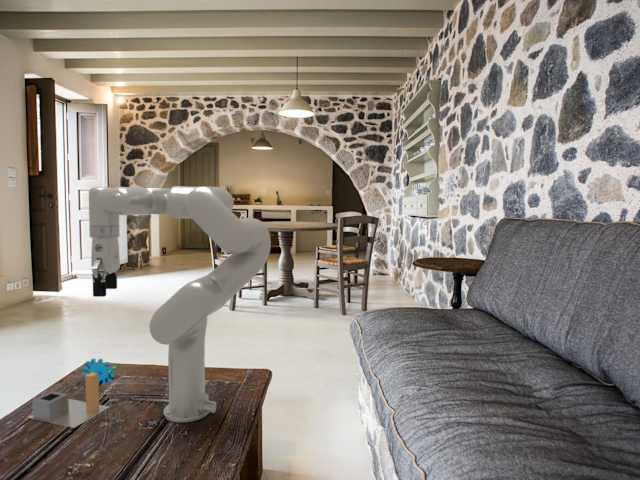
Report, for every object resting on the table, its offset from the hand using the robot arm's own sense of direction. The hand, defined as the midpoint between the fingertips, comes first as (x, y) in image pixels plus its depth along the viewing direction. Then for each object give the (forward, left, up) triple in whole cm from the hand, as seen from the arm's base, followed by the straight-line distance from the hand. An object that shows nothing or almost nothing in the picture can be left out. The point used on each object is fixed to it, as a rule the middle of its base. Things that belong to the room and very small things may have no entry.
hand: (105, 292), depth 126 cm
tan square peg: (-1, +6, -31) cm, 32 cm away
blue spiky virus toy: (+12, -10, -33) cm, 36 cm away
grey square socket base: (+4, +9, -32) cm, 34 cm away
